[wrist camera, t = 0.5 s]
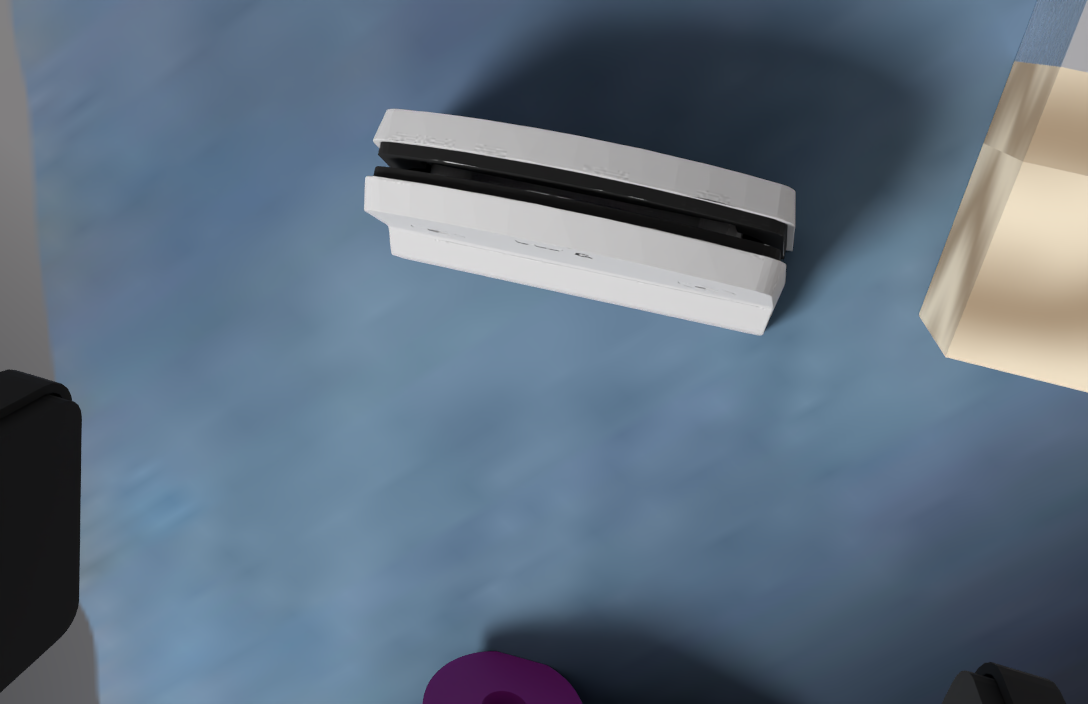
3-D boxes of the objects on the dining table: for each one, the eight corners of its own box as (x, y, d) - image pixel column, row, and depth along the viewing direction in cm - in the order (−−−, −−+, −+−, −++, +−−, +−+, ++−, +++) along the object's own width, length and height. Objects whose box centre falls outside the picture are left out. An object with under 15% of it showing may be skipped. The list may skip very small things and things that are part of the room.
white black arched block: (394, 256, 40) (305, 225, 30) (416, 151, 40) (335, 86, 30) (768, 337, 38) (806, 333, 28) (793, 227, 38) (841, 184, 28)
